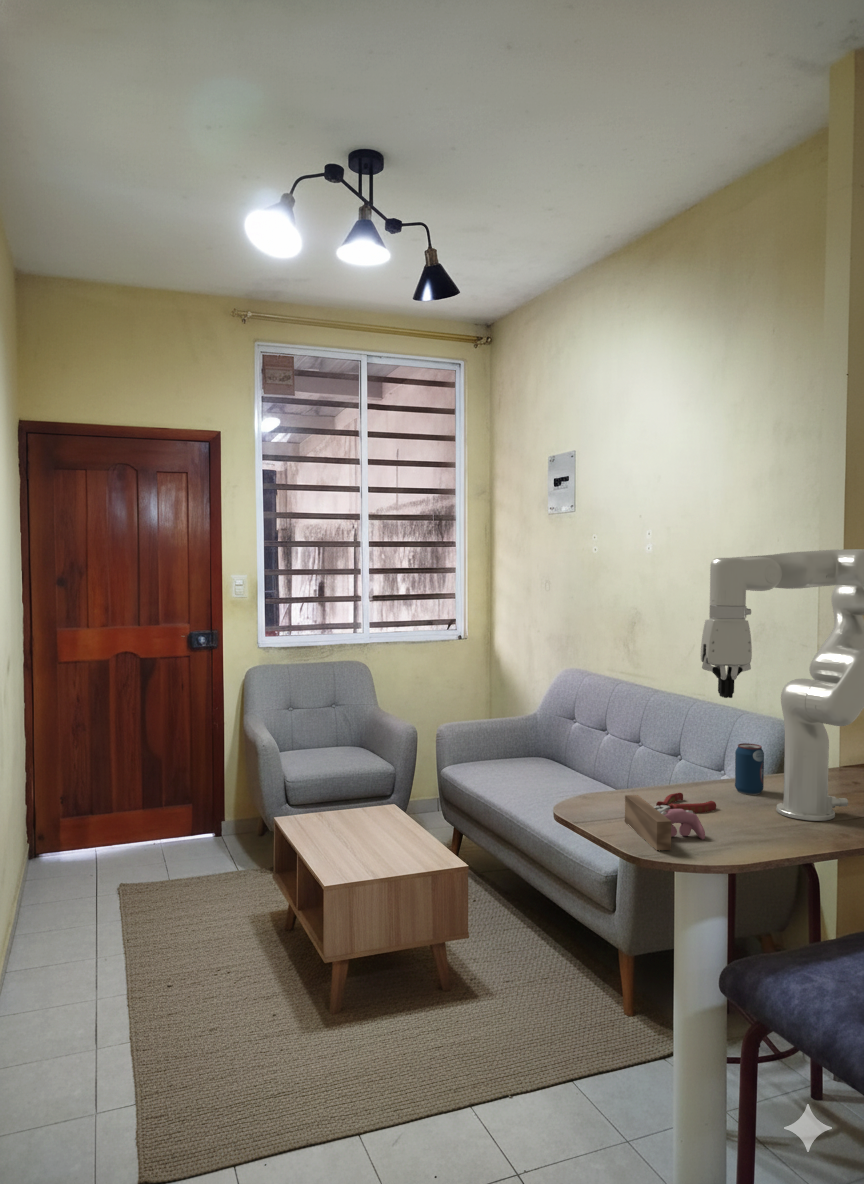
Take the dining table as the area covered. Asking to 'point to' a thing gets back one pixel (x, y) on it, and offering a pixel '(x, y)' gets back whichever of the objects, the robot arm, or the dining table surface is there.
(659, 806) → the pliers
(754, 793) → the soda can
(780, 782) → the dining table surface
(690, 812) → the video game controller
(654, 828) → the bar
